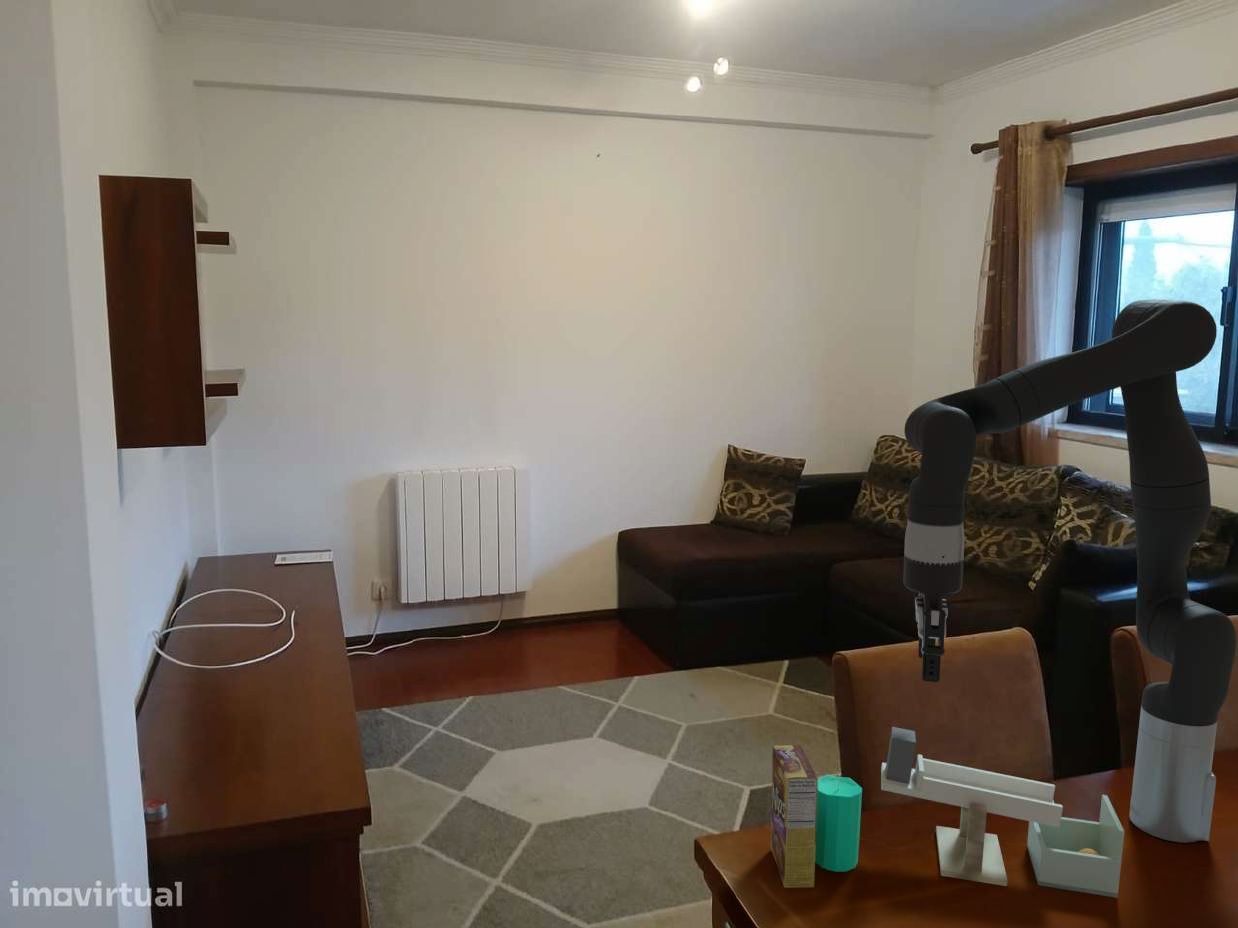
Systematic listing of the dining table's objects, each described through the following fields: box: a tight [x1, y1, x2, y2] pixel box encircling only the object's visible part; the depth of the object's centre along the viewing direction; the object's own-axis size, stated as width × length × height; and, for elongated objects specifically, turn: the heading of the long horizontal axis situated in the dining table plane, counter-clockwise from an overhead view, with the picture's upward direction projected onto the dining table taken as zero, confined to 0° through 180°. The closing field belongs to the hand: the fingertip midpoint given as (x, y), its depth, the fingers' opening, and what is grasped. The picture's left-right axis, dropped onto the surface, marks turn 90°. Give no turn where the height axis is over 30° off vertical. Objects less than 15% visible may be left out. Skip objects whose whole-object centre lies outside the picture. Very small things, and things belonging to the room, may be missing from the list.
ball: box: [1079, 848, 1099, 855], centre depth 120 cm, size 3×3×3 cm
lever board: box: [880, 726, 1064, 827], centre depth 123 cm, size 22×7×8 cm, turn 75°
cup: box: [1026, 794, 1125, 899], centre depth 121 cm, size 9×9×9 cm
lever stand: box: [935, 803, 1008, 887], centre depth 124 cm, size 8×11×10 cm
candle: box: [815, 774, 863, 873], centre depth 123 cm, size 6×6×12 cm
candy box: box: [770, 744, 819, 889], centre depth 120 cm, size 9×4×15 cm, turn 2°
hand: (928, 668), depth 126 cm, fingers open, 8 cm apart
